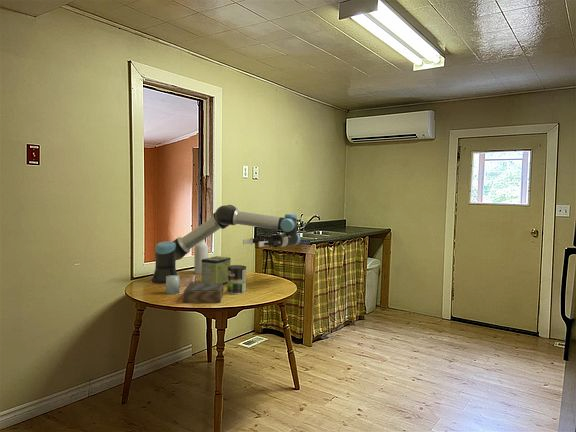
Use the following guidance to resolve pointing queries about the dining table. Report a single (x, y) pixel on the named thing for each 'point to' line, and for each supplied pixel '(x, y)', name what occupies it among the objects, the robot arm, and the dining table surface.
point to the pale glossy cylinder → (172, 284)
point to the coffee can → (236, 279)
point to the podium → (203, 293)
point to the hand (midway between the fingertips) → (251, 243)
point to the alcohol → (200, 256)
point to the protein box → (215, 270)
